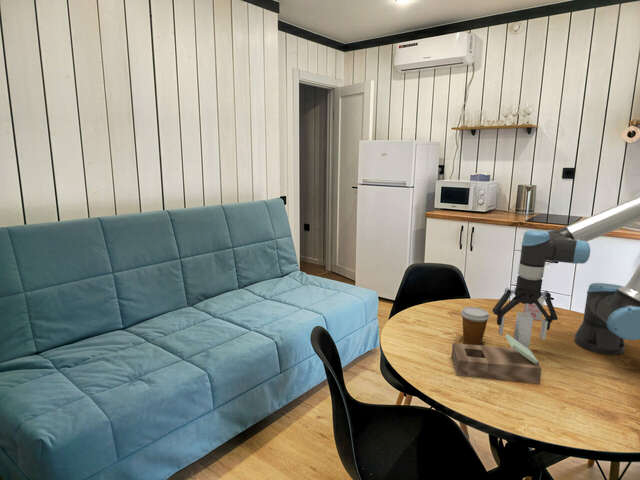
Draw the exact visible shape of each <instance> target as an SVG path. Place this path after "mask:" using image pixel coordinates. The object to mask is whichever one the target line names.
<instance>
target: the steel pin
mask: <svg viewBox="0 0 640 480" xmlns="http://www.w3.org/2000/svg"><path fill="white" fill-rule="evenodd" d="M533 322H534V320H533V317H532V316H531V314H530V313H523V312H519V311H518V312H516V318H515V325H514V326H515V328H514V334H513V338H514V339H515V340H517V341H518V342H519V343H521V344H522V345H524V346H525V347H526V348H528V349H529V350H530V346H531V345H530V343H531V337H532V328H533V324H534V323H533Z"/></svg>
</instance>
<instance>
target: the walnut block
mask: <svg viewBox="0 0 640 480" xmlns="http://www.w3.org/2000/svg"><path fill="white" fill-rule="evenodd" d="M451 360H452V364H453V367H454V371H455V375H456V376H462V377H463V376H464V377H472V378H473V377H474V378H483V379H491V380H492V379H493V380H501V381H511V382H519V383H530V384H538V385H540V384H541V377H542V371H543V370H542V367H541V365H540V364H539V365H536V364H535V363H533V362H532V361H530V360H529V359H528V358H526V357H525V356H523V355H522V354H521V353H519V352H518V351H516V350H515V349H513V348H512V347H501V346H500V347H499V346H490V345H489V346H488V345H482V344H481V345H470V344H466V343H460V342H459V343H457V342H453V343H452V348H451Z"/></svg>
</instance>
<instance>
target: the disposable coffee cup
mask: <svg viewBox="0 0 640 480" xmlns="http://www.w3.org/2000/svg"><path fill="white" fill-rule="evenodd" d="M460 314H461V316H462V317H461V318H462V339H463V340H462V342H463V344H470V345H481V346H482V344H483V340H484V337H485V336H484V335H485V332H486V328H487V324H488V320H489V319H490V314H489V312H488V311H487V310H486V309H483V308H482V307H481V308H480V307H476V306H466V307H464V308H463V309H462V310H461V313H460Z"/></svg>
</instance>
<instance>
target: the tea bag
mask: <svg viewBox="0 0 640 480" xmlns="http://www.w3.org/2000/svg"><path fill="white" fill-rule="evenodd" d="M538 301H539V303H540V304H541V306H542V307H543V308H544V301H545V299H544V298H543V297H542V296H541V297H540V298H539V299H538ZM522 310H523V312H522V313H530V314H531V316H532V317H533V321H536V322H542V320H543V314H542V313H541V311H540V310H539V308H538V307H537V306H536V304H535V303H533V304H523V309H522Z"/></svg>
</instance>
